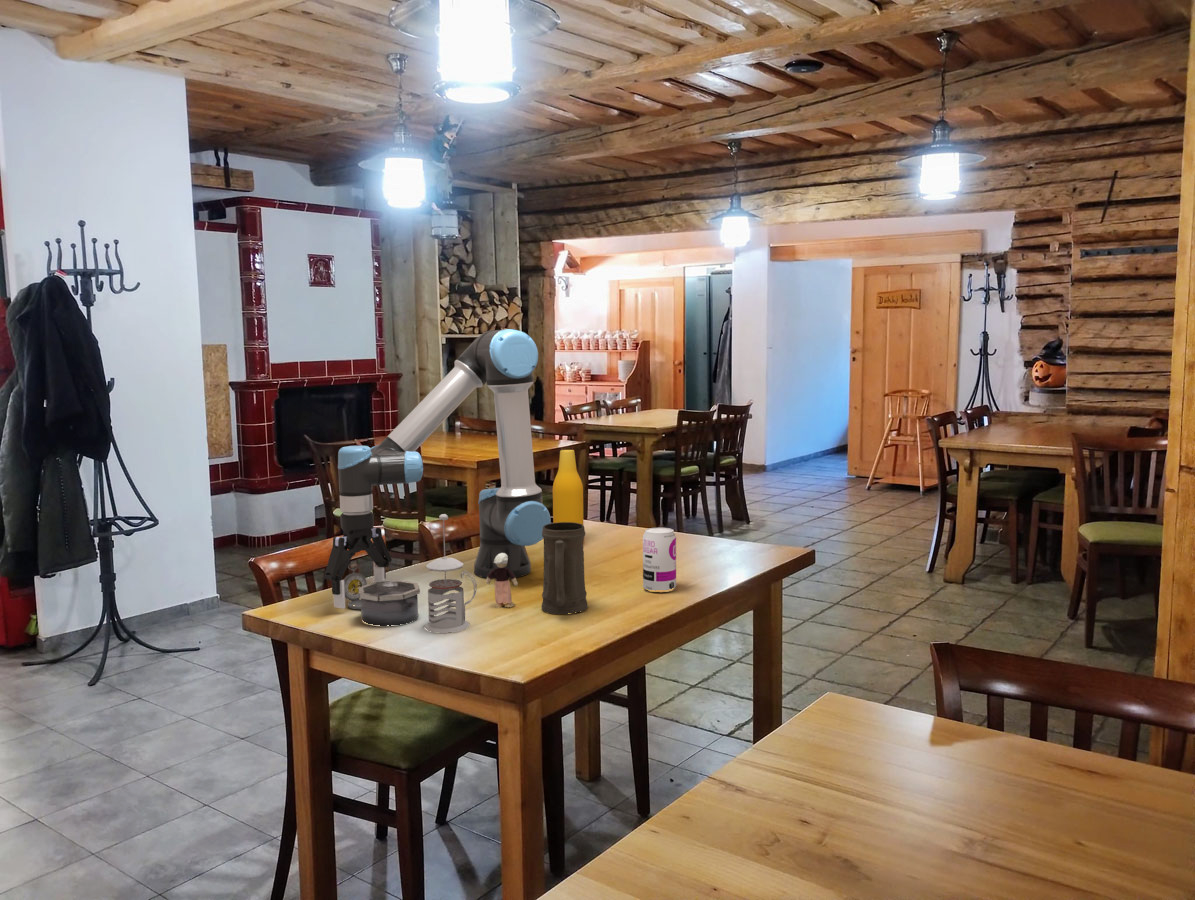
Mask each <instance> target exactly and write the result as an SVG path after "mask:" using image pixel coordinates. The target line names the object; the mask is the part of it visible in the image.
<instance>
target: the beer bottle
mask: <svg viewBox="0 0 1195 900" xmlns="http://www.w3.org/2000/svg"><path fill="white" fill-rule="evenodd" d="M575 454H576V453H575V450H574V449H561V450H560V451H559V460H558V461H559V463H558V470H557V473H556V476H555V477H554V480H553V485H552V516H553V517H552V518H553V519H552V520H553V522H552V523H558V522H574V523H579V524H582V525H583V526H584V484H583V482H582V478H581V476H580V475H579V473H578V472H579V471H578V470H577V463H576V455H575ZM584 527H585V526H584ZM584 544H585V539H584V540H583V545H584Z"/></svg>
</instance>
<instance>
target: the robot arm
mask: <svg viewBox="0 0 1195 900" xmlns="http://www.w3.org/2000/svg"><path fill="white" fill-rule="evenodd" d="M538 361H539V350H538V346H537V345H536V343H535V341H534V340H533V338H532V337H531V336H530V335H528V334H527V333H526V332H524V331H521V330H517V329H514V328H512V329H510V328H509V329H508V328H507V329H492V330H488V331H485V332H483V333H481V334H480V335H479V336H477V337H476V338H475V339H474V340H473V342H471V343H470V345H468V346H467V348H466V349H465V350H464V351H463V352H462V353H461V354H460V355H459V356H458V357H457V358H456V359H455V360H454V367H453V368H452V369H451V370H450V371H449V372H448V373H447V374H446V375H445V376H444V377H443V379H442V380H440V381H439V383H438V384H436V386H435V387H433V389H432V390H430V392H429V393H428V394H427V395H426V396H425V397H424V398H423V399H422V400H421V401H420V402H419V403H418V404H417V405H416V406H415V407H414V408H413V409H412V411H411V412H410V413H409V414H407V416H406V417H405V418H404V419H403V420H402V421H400V423H399V424H398V425H397V426H396V427H395V428H394V429H393V430H392V431H391V432H389V434H388V435H387V437H386V438H384V439H383V440H382V441H381V442H380V444H377V445H375V446H372V447H369V445H349V446H343V447H341V448H340V449H339V450H338V453H337V454H338V455H337V471H338V472H337V473H338V474H337V475H338V489H339V490H338V491H339V511H340V512H341V514H340V516H339V517H340V528H341V530H342V531H343V535H342V536H333V538H332V547H331V552H330V554H329V558H328V561H327V565H326V568H325V571H324V575H323V578H324V580H329V581H331V593H332V595H333V606H334V608H336V609H337V608H338V609H346V598H345V589H344V579H342V578H344V577H343V576H344V574H345V572H346V570H347V568H348V565H349V564H350V562H351V560H352V558H353V557H354V556H355V555H356V553H359V552H360V553H361V551H363V552H364V551H365V552H366V554H367V555H368V556H369V557H370V559H371V560H372V561H373V563H374V564H375V565H374V566H373V583H374V582H375V583H376V582H383V581H386V579H387V578H386V576H387V575H386V572H387V571H386V568H388V567H389V566H390V563H391V562H392V557H391V556H392V555H391V554H390V552H389V549H388V547H387V545H386V543H385V540H384V538H383V535H382V534H383V533H382V528H381V527H374V526H375V524H374V523H375V522H374V513H373V512H372V511H373V510H374V498H373V496H374V495H373V486H381V485H382V486H383V485H399V484H406V485H409V484H411V483H412V484H413V483H417V482H420V481H421V480H422V477H423V476H424V475H423V474H424V463H423V458H422V456H421V454H420V453H419V452H418V451H417V450H418V448H419V447H420V446H421V445H422V444H424V442H425V441H427V439H428V438H429V437H430V436H431V435H432V434H433V433H434V431H437V428H438V427H440V426H441V424H443V423H444V421H445V420H446V419H448V417H450V415H451V414H452V413H453V412H454V411H455V410H456V409H457V408H458V407H459V406H460V405H461V404H462V403H463V402H464V401H465V400H466V399H467V398H468V397H469V395H470V394H472V392H473V391H474V390H475V389H477V388H482V387H483V386H484V385H486V386H487V387H488V389H489V390H491V391H492V392H493V399H494V400H493V401H494V413H495V423H496V425H495V427H496V434H497V449H498V460H499V461H498V463H499V472H500V485H501V486H500V487H494V488H485V489H481V491H480V492H479V494H478V495H479V497H478V511H479V512H478V515H479V517H478V518H479V541H480V542H479V544H480V545H479V548H478V552H477V554H476V558H475V561H474V565H473V566H474V567H473V570H474V575H475V576H477V577H481V578H484V579H487V577H488V576H487V575H488V574H489V573H490V572H491V571H492V570H494V569H497V568H499V567H498V566H497V564H495V563H493V562H494V559H495V558H496V556H497V555H498V554H500V553H505V554H506V555H507V556H508V562H507V566H506V567H505V568H506V569H509V570H511V571H512V573H513V574H514V575H515V578H519V577H520V578H521V577H523V576H526V575H528V574H530V573H531V572H532V565H531V560H530V558H529V554H528V552H527V549H526V547H529V546H534V545H537V544H538V543H539V542H541V541H542V540H544V538H543V536H542V531H543V526H544V525H547V524H551V522H552V521H551V519H552V518H551V515H550V512H549V510H548V508H547V507H546V506H545V505H544V503H543V491H542V488H541V487H540V486H538V485H537V483H536V477H535V475H536V474H535V465H534V464H535V463H534V451H533V439H532V427H531V426H532V425H531V412H530V400H529V389H530V388H531V386H532V385H533V384H534V371H535V368H536V367H537V365H538V363H539V362H538ZM508 578H509V577H508ZM494 579H495V580H496V578H494ZM509 579H510V578H509Z"/></svg>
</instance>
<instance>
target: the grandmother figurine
mask: <svg viewBox="0 0 1195 900" xmlns="http://www.w3.org/2000/svg"><path fill="white" fill-rule="evenodd" d="M507 562H508V556H507V555H506V554H505V553H500V554H498V555H497V556H496V558H495V559H494V562H493V563H495V564H497V566H498V567H499V568H497V569H494V570H492V571H491V572H490V573H489V574H488V575H487V576H488V577H487V578H486V579H485V584H486V585H489V584H490V583H491V581H492V580H493V579H494V578H496V579H495V582H494V599H495V603H496V604H495V608H498V607H500V608H503V607H504V608H506V607H510V608H512V606H513V607H515V603H514V602H512V601H513V600H512V589H511V582H512V583H513V586H514V587H516V586H518V585H519V583H518V581H517V577H515V575H514V574H513V573H512V571H511V570H509V569H506V568H505V567H506V566H507ZM508 577H509V578H508ZM510 580H511V581H510ZM502 606H503V607H502Z"/></svg>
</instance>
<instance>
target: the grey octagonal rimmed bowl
mask: <svg viewBox="0 0 1195 900" xmlns="http://www.w3.org/2000/svg"><path fill="white" fill-rule="evenodd" d="M358 589H359V598H360V599H361V608H362V609H361V621H362V620H363V621H364V622H366V623H368V624H373V625H380V626H387V625H389V626H390V627H392V626H391V625H399V626H401V625H400V624H404V625H407V624H406V623H408V624H410V622H411V623H413V622H415V621H416V620H418V618H419V605H418V604H419V602H418V594H419V595H420V594H421V588H420V586H419V583H418V582H415V581H406V580H400V579H398V580H397V579H396V580H385V581H383V582H376V583H375V582H374V581H373V582H372V583H367V585H365V586H362V587H360V586H359V587H358ZM414 620H415V621H414ZM412 621H413V622H412Z"/></svg>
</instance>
